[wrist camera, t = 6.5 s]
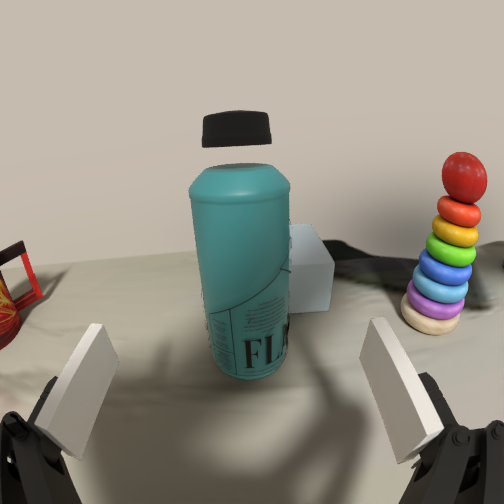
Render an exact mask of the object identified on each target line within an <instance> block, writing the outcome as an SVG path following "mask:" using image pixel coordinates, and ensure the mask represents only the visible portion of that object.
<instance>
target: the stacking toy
mask: <svg viewBox="0 0 504 504" xmlns="http://www.w3.org/2000/svg"><path fill="white" fill-rule="evenodd" d="M442 181H443V185H444V188H445V190H446V191H447V193H448V194H449V195H450V196H443V197H441V198H440V199H439V201H438V203H437V209H438V212H439V215H437V216H436V217H435V218H434V219H433V222H432V229H433V231H434V232H432V233H430V234H429V236H428V237H427V240H426V247H427V248H425V249H424V250H423V251H422V252H421V254H420V256H419V264H418V265H417V266H416V268H415V269H414V272H413V279H412V280H411V281H410V282H409V284H408V287H407V293H406V294H405V295H404V296H403V298H402V300H401V312H402V315H403V317H404V318H405V320H406V321H407V322H408V323H409V324H410V325H411V326H412V327H414V328H415V329H417V330H419V331H421V332H423V333H426V334H431V335H442V334H446V333H448V332H450V331H452V330H453V329H454V328H455V327H456V325H457V324H458V322H459V318H460V312H461V310H462V308H463V306H464V297H465V295H466V293H467V291H468V282H467V281H468V279H469V278H470V276H471V273H472V266H471V263H472V262H473V261H474V259H475V257H476V249H475V247H474V245H475V243H476V242H477V240H478V236H479V233H478V230H477V228H476V227H475V226H476V225H477V224H478V223H479V221H480V219H481V212H480V209H479V208H478V207H477V205H475V204H474V203H475V202H477V201H478V200H479V199H480V198H481V197H482V196H483V194H484V193H485V190H486V187H487V174H486V171H485V168H484V166H483V164H482V163H481V162H480V161H479V159H478V158H477V157H475V156H474V155H472V154H470V153H466V152H456V153H454V154H452V155H450V156H449V157H448V158H447V160H446V161H445V163H444V165H443V169H442Z"/></svg>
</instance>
